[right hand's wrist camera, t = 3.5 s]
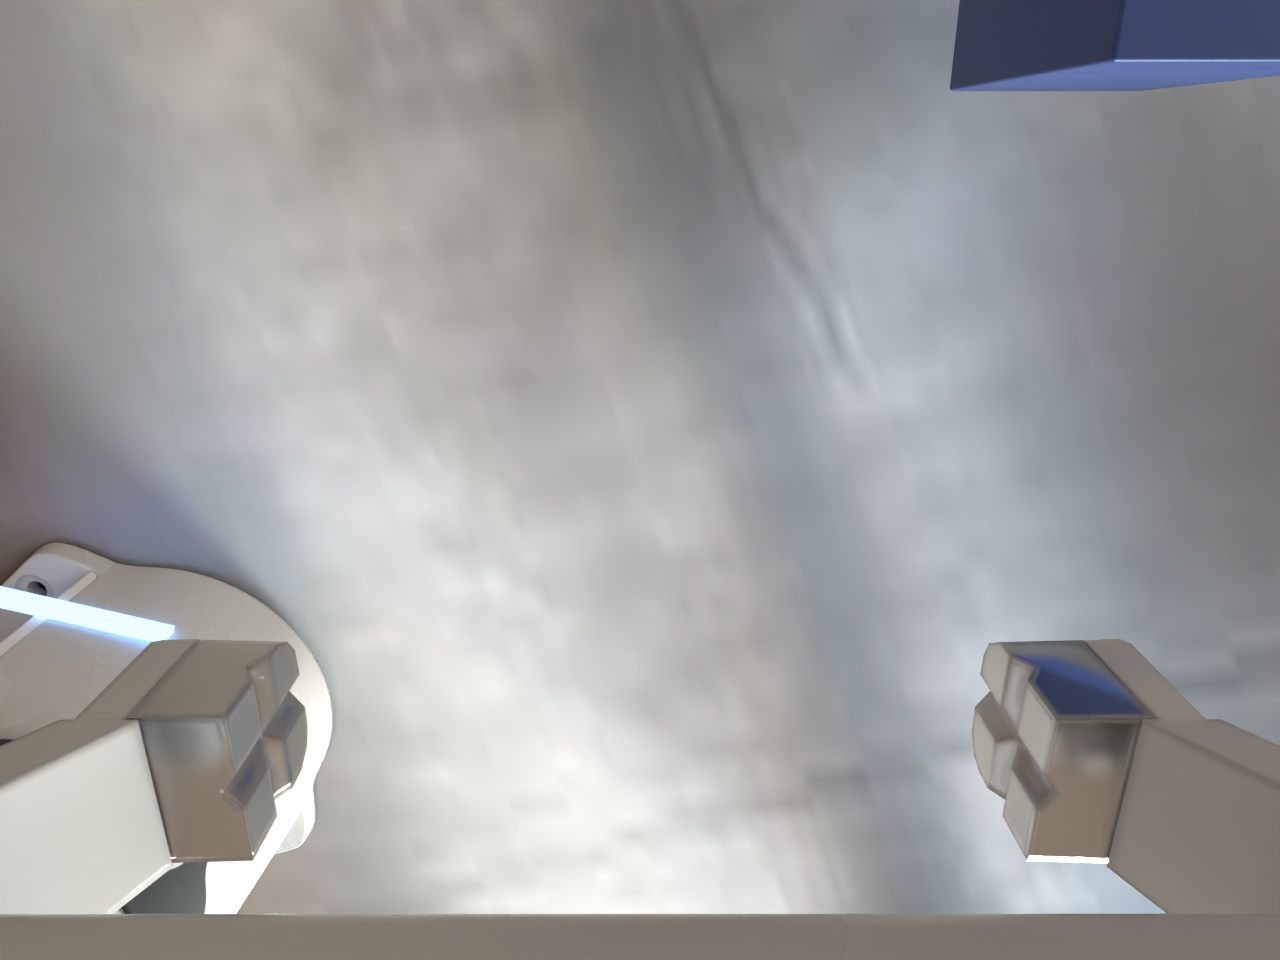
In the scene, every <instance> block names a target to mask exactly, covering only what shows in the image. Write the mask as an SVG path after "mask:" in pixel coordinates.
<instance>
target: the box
mask: <svg viewBox="0 0 1280 960" xmlns="http://www.w3.org/2000/svg"><path fill="white" fill-rule="evenodd" d="M1278 75H1280V0H960V4H959V13H958V22H957V31H956V40H955V48H954V57H953V66H952V75H951V84H950V89H951V90H952V91H1141V90H1150V89H1159V88H1168V87H1177V86H1187V85H1196V84H1205V83H1214V82H1223V81H1232V80H1242V79H1251V78H1260V77H1269V76H1278Z"/></svg>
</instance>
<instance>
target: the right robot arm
mask: <svg viewBox="0 0 1280 960" xmlns="http://www.w3.org/2000/svg"><path fill="white" fill-rule="evenodd" d="M38 582H40V583H41V584H43V585H44V586H45V587H46V590H47V591H46V590H44V589H42V588H41V587H40V586H39V585H38ZM980 675H981V676H982V678H983V679H984V681H985V683H986V684H987V686H988V687H989V689H990V692H989V693H988V694H987V695H986V696H985V697H984V698H983V699H982V700H981V701H980V702H979V703H978V704H977V705H976V706H975V712H974V720H973V728H972V736H973V747H974V756H975V759H976V763H977V766H978V769H979V772H980V774H981V776H982V778H983V780H984V782H985V784H986V786H987V788H988V789H990V790H991V791H993V792H994V793H996V794H997V795H999V796H1001V797H1002V798H1004V799H1005V805H1004V811H1003V818H1004V819H1005V821H1006V823H1007V825H1008V827H1009V829H1010V830H1011V832H1012V834H1013V836H1014V838H1015V839H1016V841H1017V843H1018V845H1019V847H1020V849H1021V850H1022V852H1023V854H1024V856H1025V858H1026V859H1027V861H1055V862H1092V863H1108V864H1107V867H1108V868H1109V869H1111V870H1112V871H1113V872H1115V873H1116V874H1117V875H1118V876H1120V877H1121V878H1122V879H1123V880H1125V881H1126V882H1127V883H1129V884H1130V885H1131V886H1132V887H1134V888H1135V889H1136V890H1137V891H1139V892H1140V893H1141V894H1143V895H1144V896H1145V897H1146V898H1148V899H1149V900H1150V901H1151V902H1153V903H1154V904H1155V905H1157V906H1158V907H1159V908H1160V909H1162V910H1163V911H1164V912H1166V913H1167V914H236V913H237V911H238V910H239V908H240V907H241V905H242V904H243V902H244V900H245V899H246V897H247V896H248V894H249V893H250V891H251V890H252V888H253V886H254V885H255V883H256V882H257V880H258V879H259V877H260V875H261V874H262V872H263V871H264V869H265V868H266V866H267V864H268V863H269V861H270V860H271V858H272V856H273V855H274V854H278V853H281V852H285V851H289V850H292V849H295V848H297V847H299V846H300V845H301V844H302V843H303V842H304V841H305V839H306V838H307V836H308V835H309V833H310V832H311V830H312V828H313V826H314V823H315V802H314V793H313V785H314V780H315V778H316V775H317V772H318V770H319V768H320V766H321V764H322V762H323V759H324V757H325V755H326V752H327V749H328V746H329V742H330V738H331V732H332V706H331V699H330V695H329V691H328V687H327V684H326V681H325V678H324V676H323V673H322V671H321V669H320V667H319V665H318V663H317V661H316V659H315V658H314V656H313V654H312V653H311V651H310V650H309V648H308V647H307V645H306V644H305V643H304V641H303V640H302V639H301V638H300V636H299V635H298V634H297V633H296V632H295V631H294V630H293V629H292V628H291V627H290V626H289V625H288V624H287V623H286V622H285V621H284V620H283V619H282V618H281V617H280V616H279V615H278V614H276V613H275V612H274V611H273V610H271V609H270V608H269V607H267V606H266V605H265V604H263V603H262V602H260V601H259V600H257V599H256V598H254V597H252V596H251V595H249V594H247V593H246V592H244V591H242V590H240V589H238V588H236V587H234V586H232V585H229V584H227V583H225V582H222V581H220V580H217V579H214V578H212V577H208V576H205V575H202V574H198V573H194V572H190V571H185V570H179V569H172V568H162V567H146V566H133V565H125V564H120V563H116V562H114V561H111V560H109V559H107V558H104V557H102V556H100V555H97V554H95V553H92V552H90V551H88V550H85V549H82V548H79V547H77V546H73V545H70V544H65V543H58V542H55V543H49V544H46V545H44V546H42V547H41V548H39V549H38V550H37V551H36V552H35V553H34V554H33V555H32V556H31V557H30V558H28V559H27V560H26V561H25V562H24V563H23V564H22V565H21V566H20V567H19V568H18V569H17V570H16V571H15V572H14V573H13V574H12V575H11V576H10V577H9V578H8V579H7V580H6V581H5V582H4V583H3V584H2V585H1V586H0V960H1280V746H1279V745H1276V744H1274V743H1272V742H1270V741H1267V740H1265V739H1263V738H1261V737H1258V736H1256V735H1254V734H1252V733H1249V732H1247V731H1245V730H1243V729H1240V728H1238V727H1236V726H1234V725H1231V724H1229V723H1227V722H1225V721H1222V720H1211V719H1205V718H1204V717H1203V716H1202V715H1201V714H1200V713H1199V712H1198V711H1197V710H1196V709H1195V708H1194V707H1193V706H1192V705H1191V704H1190V703H1189V702H1188V701H1187V700H1186V699H1185V698H1184V697H1183V696H1182V695H1181V694H1180V693H1179V692H1178V691H1177V690H1176V689H1175V688H1174V687H1173V686H1172V685H1171V684H1170V683H1169V682H1168V681H1167V680H1166V679H1165V678H1164V677H1163V676H1162V675H1161V674H1160V673H1159V672H1158V671H1157V670H1156V669H1155V668H1154V667H1153V666H1152V665H1151V664H1150V663H1149V662H1148V661H1147V660H1146V659H1145V658H1144V657H1143V656H1142V655H1141V653H1140V652H1139V651H1138V650H1137V649H1136V648H1135V647H1134V646H1133V645H1132V644H1131V643H1129V642H1126V641H1123V640H1121V639H1101V640H1072V641H1031V642H997V643H989V645H988V647H987V649H986V651H985V654H984V656H983V662H982V667H981V673H980Z"/></svg>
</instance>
